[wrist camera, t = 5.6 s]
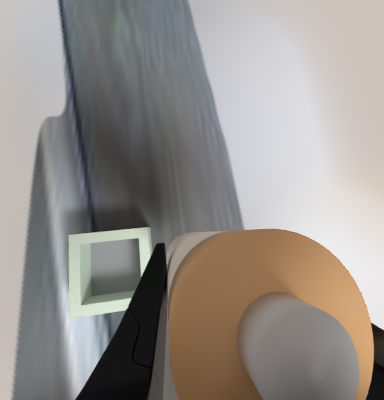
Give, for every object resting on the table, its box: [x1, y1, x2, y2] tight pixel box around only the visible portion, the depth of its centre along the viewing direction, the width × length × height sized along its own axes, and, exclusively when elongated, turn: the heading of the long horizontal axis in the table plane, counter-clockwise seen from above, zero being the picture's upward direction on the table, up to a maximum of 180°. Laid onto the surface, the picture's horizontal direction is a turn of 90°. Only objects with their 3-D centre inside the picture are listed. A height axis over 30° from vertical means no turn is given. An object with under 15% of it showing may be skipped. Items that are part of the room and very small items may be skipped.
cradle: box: [69, 227, 152, 319], centre depth 20 cm, size 8×8×3 cm
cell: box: [167, 229, 374, 400], centre depth 10 cm, size 4×4×14 cm
